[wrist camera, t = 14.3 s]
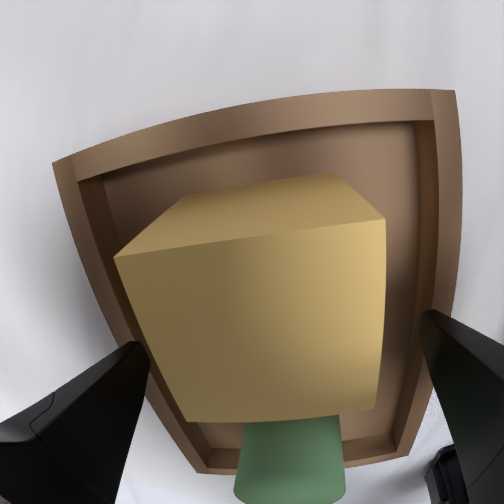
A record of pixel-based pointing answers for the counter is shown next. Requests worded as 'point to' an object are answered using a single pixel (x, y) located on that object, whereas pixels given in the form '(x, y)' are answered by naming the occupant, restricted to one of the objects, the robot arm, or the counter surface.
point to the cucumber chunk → (291, 462)
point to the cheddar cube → (263, 299)
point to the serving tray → (281, 167)
